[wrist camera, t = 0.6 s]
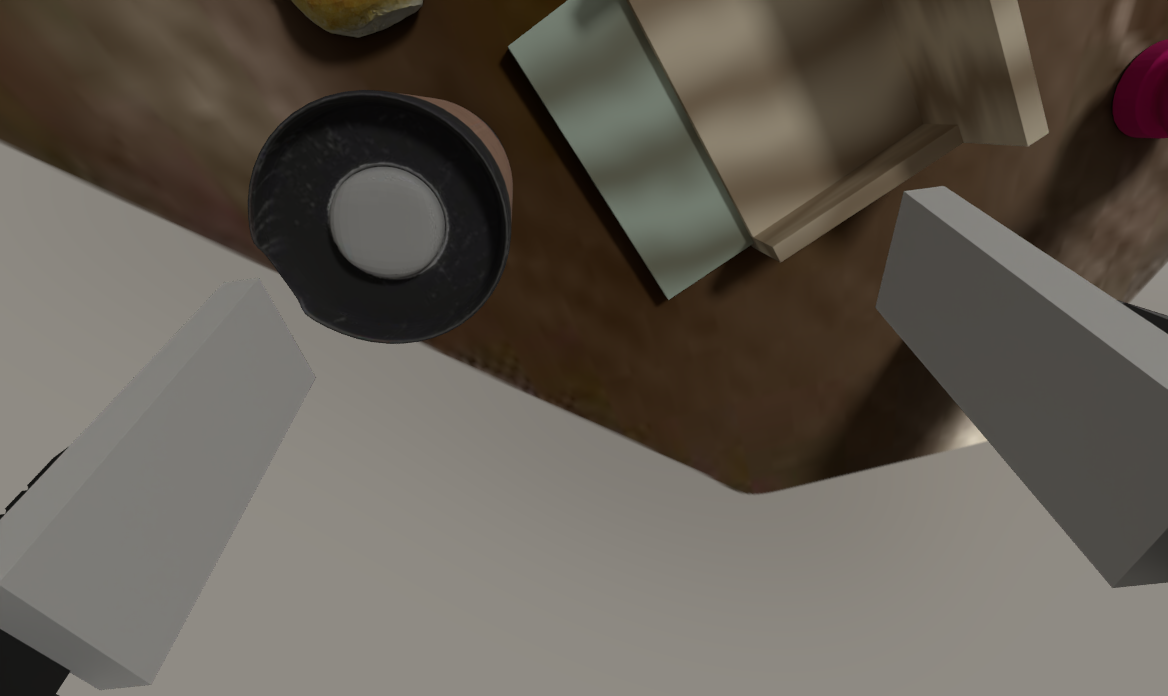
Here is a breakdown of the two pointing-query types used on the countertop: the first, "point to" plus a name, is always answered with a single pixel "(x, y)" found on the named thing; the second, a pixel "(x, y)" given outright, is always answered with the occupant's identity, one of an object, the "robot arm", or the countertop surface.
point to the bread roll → (357, 14)
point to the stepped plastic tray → (771, 111)
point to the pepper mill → (1144, 95)
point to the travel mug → (384, 213)
